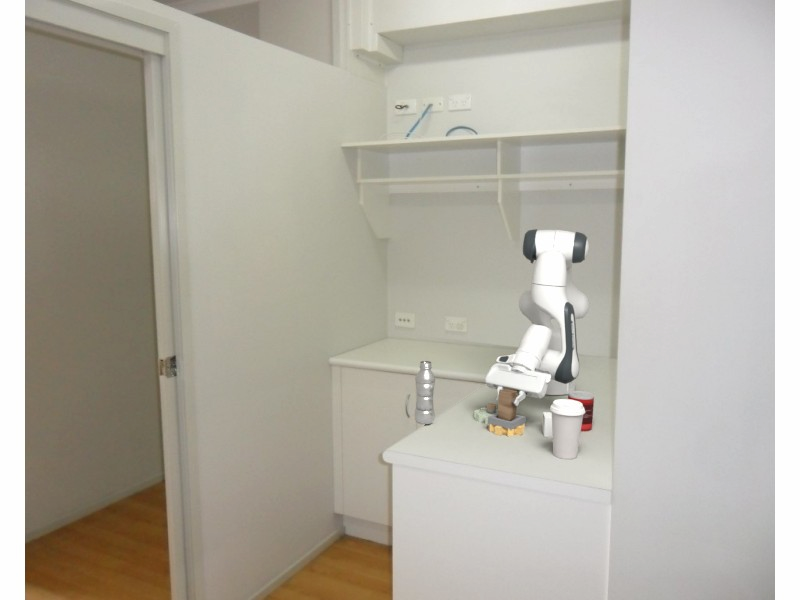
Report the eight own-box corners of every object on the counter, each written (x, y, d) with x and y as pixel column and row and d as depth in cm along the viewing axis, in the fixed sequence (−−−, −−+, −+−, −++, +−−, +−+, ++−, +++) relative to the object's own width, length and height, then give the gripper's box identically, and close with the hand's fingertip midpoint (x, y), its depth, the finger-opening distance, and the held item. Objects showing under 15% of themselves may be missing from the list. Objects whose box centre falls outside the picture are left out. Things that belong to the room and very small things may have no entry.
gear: (478, 412, 214) (478, 398, 214) (510, 416, 211) (510, 401, 210) (471, 422, 204) (471, 407, 204) (504, 426, 201) (505, 411, 200)
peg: (504, 414, 199) (505, 388, 198) (515, 417, 196) (516, 391, 195) (497, 417, 196) (498, 391, 195) (509, 420, 193) (510, 393, 192)
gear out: (500, 422, 204) (501, 409, 204) (530, 430, 198) (531, 416, 197) (482, 430, 196) (482, 417, 196) (512, 439, 189) (513, 424, 189)
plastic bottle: (436, 421, 205) (438, 360, 202) (431, 427, 199) (433, 365, 196) (417, 419, 207) (418, 359, 204) (411, 425, 200) (413, 363, 198)
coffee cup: (540, 454, 178) (543, 402, 176) (559, 446, 184) (561, 396, 182) (571, 464, 171) (574, 410, 169) (589, 455, 177) (592, 403, 175)
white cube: (564, 438, 191) (565, 419, 191) (544, 437, 192) (544, 418, 191) (561, 431, 197) (562, 412, 197) (542, 430, 198) (542, 411, 197)
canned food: (572, 422, 207) (574, 389, 205) (596, 427, 202) (598, 393, 200) (562, 427, 201) (563, 394, 199) (586, 433, 196) (588, 399, 194)
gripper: (556, 377, 197) (540, 415, 190) (500, 367, 210) (482, 401, 204) (550, 366, 193) (533, 404, 186) (493, 355, 206) (475, 391, 200)
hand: (506, 402), depth 195 cm, fingers closed on peg, 4 cm apart
